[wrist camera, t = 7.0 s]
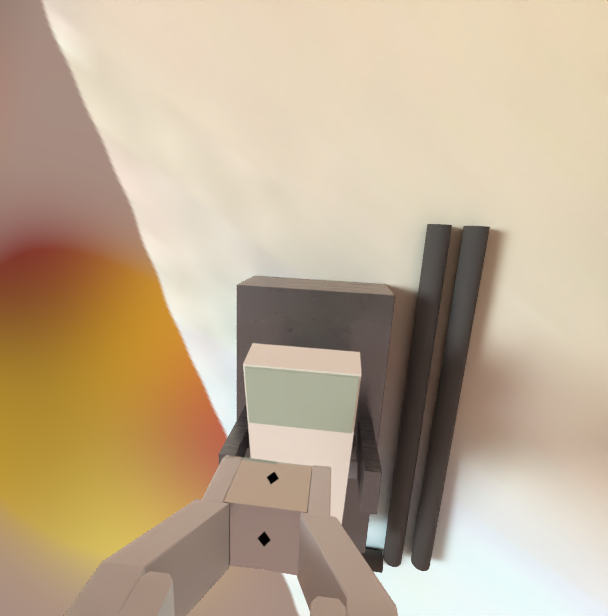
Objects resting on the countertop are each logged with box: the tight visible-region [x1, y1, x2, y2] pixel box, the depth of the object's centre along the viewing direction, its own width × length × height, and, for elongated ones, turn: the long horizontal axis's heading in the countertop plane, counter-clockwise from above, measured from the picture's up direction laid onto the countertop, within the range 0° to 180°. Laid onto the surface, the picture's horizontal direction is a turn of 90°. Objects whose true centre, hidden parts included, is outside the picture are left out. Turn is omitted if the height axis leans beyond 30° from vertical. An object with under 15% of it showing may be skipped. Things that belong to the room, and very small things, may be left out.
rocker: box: [243, 343, 361, 525], centre depth 17 cm, size 14×6×2 cm, turn 176°
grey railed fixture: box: [361, 224, 490, 573], centre depth 23 cm, size 14×27×1 cm, turn 177°
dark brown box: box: [219, 276, 395, 553], centre depth 20 cm, size 18×9×8 cm, turn 177°
